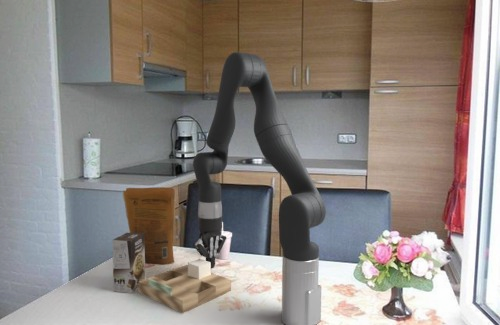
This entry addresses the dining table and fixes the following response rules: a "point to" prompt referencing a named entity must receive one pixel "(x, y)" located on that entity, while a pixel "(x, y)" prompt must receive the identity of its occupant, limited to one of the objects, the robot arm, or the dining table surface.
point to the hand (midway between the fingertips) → (210, 267)
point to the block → (199, 268)
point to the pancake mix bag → (152, 220)
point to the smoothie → (225, 245)
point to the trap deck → (183, 288)
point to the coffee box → (128, 262)
